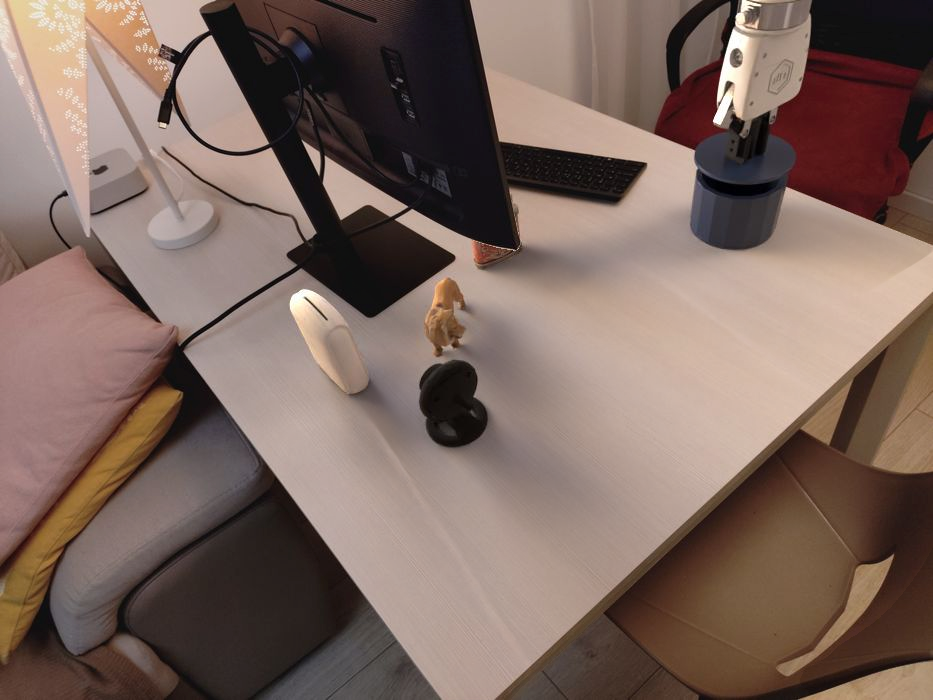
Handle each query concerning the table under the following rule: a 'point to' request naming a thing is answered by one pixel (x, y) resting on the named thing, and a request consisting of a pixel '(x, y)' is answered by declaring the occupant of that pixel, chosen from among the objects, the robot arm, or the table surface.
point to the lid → (757, 166)
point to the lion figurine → (444, 317)
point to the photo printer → (330, 341)
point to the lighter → (494, 250)
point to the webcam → (452, 403)
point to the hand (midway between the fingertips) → (744, 153)
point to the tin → (735, 211)
